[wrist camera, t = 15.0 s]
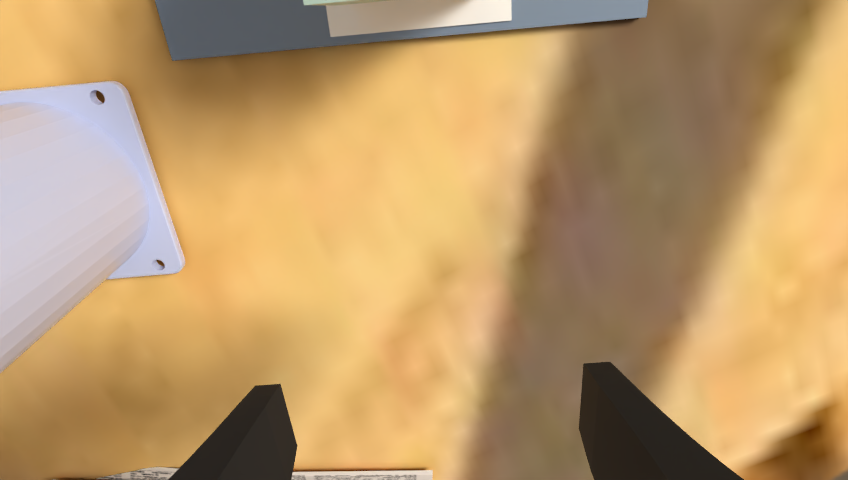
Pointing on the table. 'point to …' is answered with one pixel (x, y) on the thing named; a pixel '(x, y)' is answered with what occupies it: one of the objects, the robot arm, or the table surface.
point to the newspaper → (159, 476)
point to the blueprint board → (360, 21)
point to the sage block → (337, 2)
